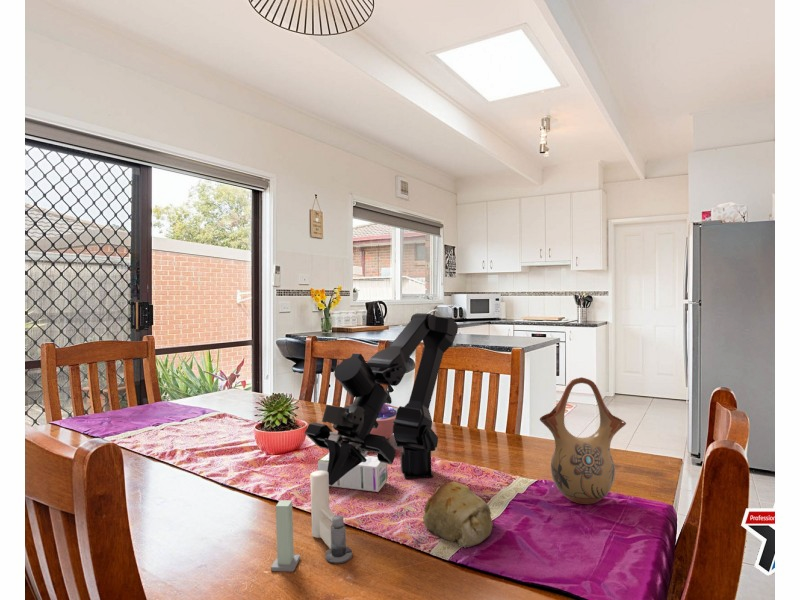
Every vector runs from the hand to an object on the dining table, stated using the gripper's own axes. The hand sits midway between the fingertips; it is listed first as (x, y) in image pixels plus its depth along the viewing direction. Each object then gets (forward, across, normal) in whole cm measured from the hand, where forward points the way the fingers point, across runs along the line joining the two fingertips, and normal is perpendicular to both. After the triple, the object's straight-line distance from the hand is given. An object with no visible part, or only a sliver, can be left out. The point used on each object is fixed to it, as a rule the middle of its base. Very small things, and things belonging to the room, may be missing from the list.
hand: (328, 484), depth 88 cm
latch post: (+14, +2, -2) cm, 15 cm away
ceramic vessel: (-19, +36, +31) cm, 51 cm away
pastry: (-3, +20, +15) cm, 25 cm away
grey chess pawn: (+10, +7, +2) cm, 12 cm away
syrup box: (-7, -16, +15) cm, 23 cm away
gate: (+8, +3, +3) cm, 9 cm away
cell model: (-25, -24, +37) cm, 51 cm away
